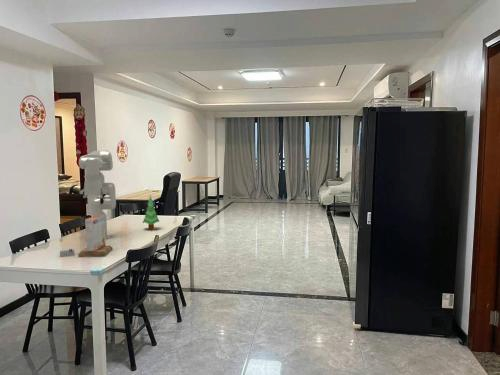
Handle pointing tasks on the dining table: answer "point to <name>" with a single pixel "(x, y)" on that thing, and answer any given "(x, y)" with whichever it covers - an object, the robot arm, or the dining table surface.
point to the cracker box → (95, 232)
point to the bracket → (67, 253)
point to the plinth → (96, 252)
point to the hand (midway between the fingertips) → (94, 204)
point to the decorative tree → (150, 215)
